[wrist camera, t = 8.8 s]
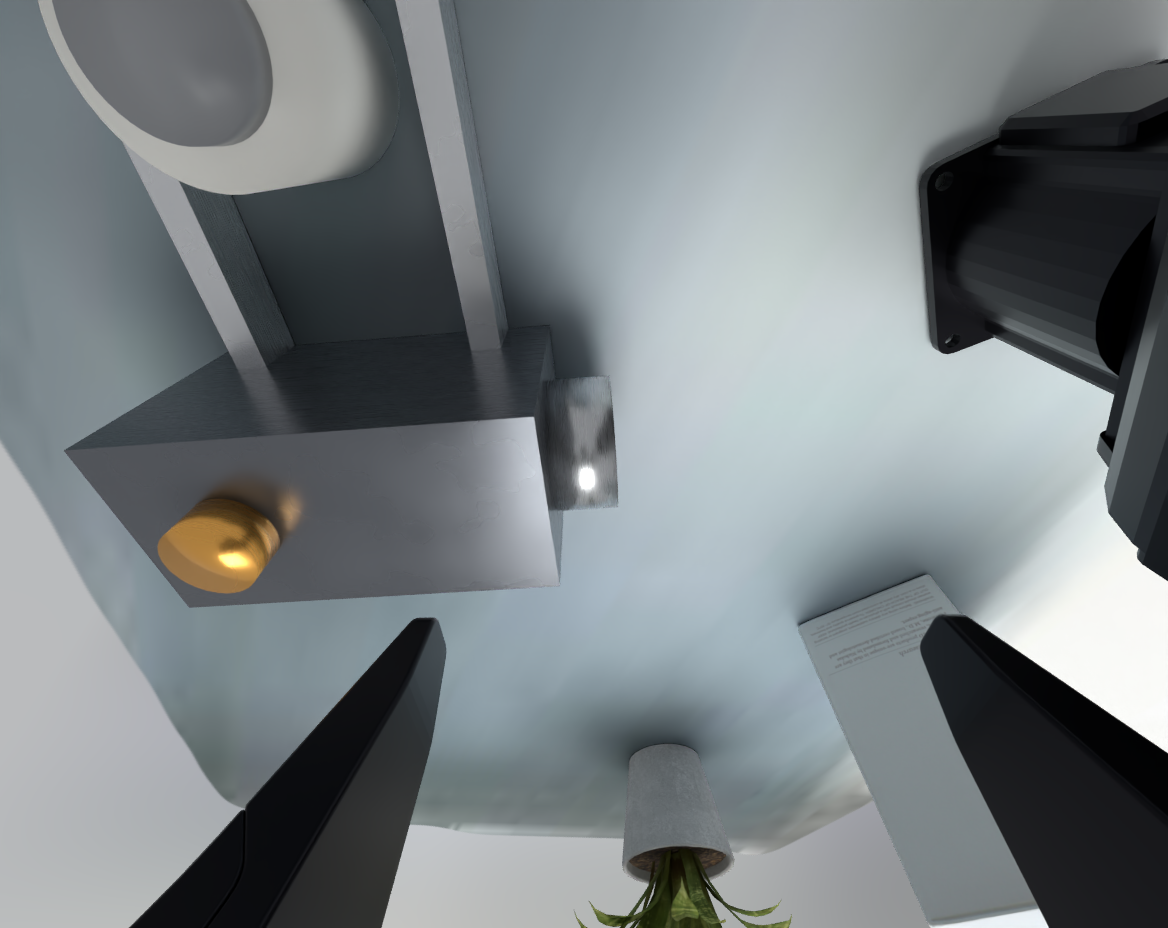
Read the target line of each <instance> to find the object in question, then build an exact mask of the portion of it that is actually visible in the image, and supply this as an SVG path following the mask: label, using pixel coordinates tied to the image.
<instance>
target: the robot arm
mask: <svg viewBox="0 0 1168 928" xmlns="http://www.w3.org/2000/svg"><path fill="white" fill-rule="evenodd" d="M943 172H944V174H945V181H944V182H943V184H942V185H941V186H940V187H939V188H938V189H936V186H935V184H936V180H937V178H938V177H939V175H941V174H942V173H943ZM919 193H920V206H921V218H922V231H923V244H924V257H925V269H926V282H927V295H928V308H929V320H930V333H931V343H932V346H933V347H934V348H935V349H936V350H938V351H940V352H941V353H944V354H951V353H954V352H957V351H960V350H962V349H965V348H967V347H970V346H973V345H975V344H978V343H981V342H983V341H986V340H988V339H991V338H994V337H995V338H997V339H999V340H1001V341H1003V342H1005V343H1007V344H1009V345H1011V346H1014V347H1016V348H1018V349H1020V350H1022V351H1024V352H1026V353H1028V354H1030V355H1032V356H1034V357H1037V358H1039V359H1041V360H1043V361H1045V362H1047V363H1049V364H1051V365H1053V366H1055V367H1057V368H1060V369H1062V370H1064V371H1066V372H1068V373H1070V374H1072V375H1074V376H1076V377H1078V378H1080V379H1083V380H1085V381H1087V382H1089V383H1091V384H1093V385H1095V386H1097V387H1099V388H1101V389H1103V390H1106V391H1108V392H1110V393H1112V394H1114V399H1113V404H1112V408H1111V412H1110V416H1109V421H1108V425H1107V429H1106V430H1105V431H1103V432H1101V434H1100V437H1099V441H1098V445H1097V452H1098V453H1099V455H1100V456H1101V458H1102V459H1103V460H1104V462H1105V463H1106V465H1107V466H1108V467H1109V470H1108V474H1107V478H1106V482H1105V486H1104V487H1105V493H1106V500H1107V506H1108V513H1109V514H1110V516H1111V517H1112V518H1113V519H1114V521H1115V522H1116V523H1117V524H1118V526H1119V527H1120V528H1121V529H1122V531H1123V532H1124V533H1125V534H1126V536H1127V537H1128V538H1129V540H1130V541H1131V542H1132V543H1133V544H1134V545H1135V546H1136V547H1138V548H1139V549H1138V552H1137V559H1138V560H1139V561H1140V562H1141V563H1142V564H1143V565H1144V566H1146V567H1147V568H1149V569H1150V570H1152V571H1153V572H1155V573H1156V574H1158V575H1159V576H1161V577H1162V578H1164V579H1165V580H1167V581H1168V59H1163V60H1156V61H1152V62H1149V63H1147V64H1144V65H1142V66H1140V67H1133V68H1126V69H1118V70H1110V71H1105V72H1103V73H1100V74H1098V75H1096V76H1094V77H1092V78H1090V79H1088V80H1086V81H1083V82H1081V83H1079V84H1077V85H1075V86H1073V87H1071V88H1069V89H1067V90H1065V91H1062V92H1060V93H1058V94H1056V95H1054V96H1052V97H1050V98H1048V99H1046V100H1044V101H1041V102H1039V103H1037V104H1035V105H1033V106H1031V107H1029V108H1027V109H1025V110H1023V111H1020V112H1018V113H1016V114H1014V115H1012V116H1010V117H1009V118H1008V119H1007V120H1006V121H1005V122H1004V123H1003V125H1002V126H1001V127H1000V128H999V133H998V134H996V135H994V136H992V137H990V138H987V139H985V140H983V141H981V142H979V143H977V144H975V145H973V146H970V147H968V148H966V149H964V150H962V151H960V152H958V153H956V154H954V155H951V156H949V157H947V158H945V159H943V160H941V161H939V162H937V163H935V164H933V165H932V166H930V167H929V168H928V169H927V170H926V171H925V173H924V174H923V176H922V178H921V180H920V185H919ZM952 334H953V338H952V339H951V340H950V341H949V342H947V343H945V342H946V340H947V338H948V337H949V336H951V335H952ZM920 652H921V656H922V659H923V662H924V664H925V667H926V669H927V672H928V674H929V677H930V679H931V682H932V685H933V687H934V690H935V692H936V695H937V697H938V700H939V702H940V705H941V708H942V710H943V713H944V715H945V718H946V720H947V723H948V726H949V728H950V730H951V733H952V735H953V737H954V740H955V742H956V744H957V746H958V748H959V750H960V753H961V755H962V757H963V759H964V761H965V763H966V765H967V767H968V769H969V771H970V773H971V775H972V777H973V778H974V780H975V782H976V784H977V786H978V788H979V790H980V792H981V794H982V796H983V798H984V800H985V802H986V804H987V806H988V808H989V810H990V812H991V814H992V816H993V818H994V820H995V822H996V824H997V826H998V828H999V830H1000V832H1001V834H1002V836H1003V838H1004V840H1005V842H1006V844H1007V846H1008V848H1009V850H1010V852H1011V854H1012V856H1013V858H1014V860H1015V862H1016V864H1017V866H1018V868H1019V870H1020V872H1021V874H1022V876H1023V878H1024V880H1025V882H1026V884H1027V886H1028V888H1029V890H1030V891H1031V893H1032V895H1033V897H1034V899H1035V901H1036V903H1037V905H1038V907H1039V909H1040V911H1041V913H1042V915H1043V917H1044V919H1045V921H1046V923H1047V925H1048V927H1049V928H1168V753H1167V752H1165V751H1164V750H1162V749H1161V748H1159V747H1158V746H1157V745H1155V744H1154V743H1152V742H1151V741H1149V740H1148V739H1146V738H1145V737H1143V736H1142V735H1140V734H1139V733H1138V732H1136V731H1135V730H1133V729H1132V728H1130V727H1129V726H1127V725H1126V724H1124V723H1123V722H1121V721H1120V720H1118V719H1117V718H1116V717H1114V716H1113V715H1111V714H1110V713H1108V712H1107V711H1105V710H1104V709H1102V708H1101V707H1099V706H1098V705H1097V704H1095V703H1094V702H1092V701H1091V700H1089V699H1088V698H1086V697H1085V696H1083V695H1082V694H1080V693H1079V692H1077V691H1076V690H1075V689H1073V688H1072V687H1070V686H1069V685H1067V684H1066V683H1064V682H1063V681H1061V680H1060V679H1058V678H1057V677H1055V676H1054V675H1053V674H1051V673H1050V672H1048V671H1047V670H1045V669H1044V668H1042V667H1041V666H1039V665H1038V664H1036V663H1035V662H1034V661H1032V660H1031V659H1029V658H1028V657H1026V656H1025V655H1023V654H1022V653H1020V652H1019V651H1017V650H1016V649H1014V648H1013V647H1012V646H1010V645H1009V644H1007V643H1006V642H1004V641H1003V640H1001V639H1000V638H998V637H997V636H995V635H994V634H993V633H991V632H990V631H988V630H987V629H985V628H984V627H982V626H981V625H979V624H978V623H976V622H975V621H973V620H972V619H970V618H969V617H967V616H965V615H962V614H939V615H937V616H936V617H935V618H934V619H933V621H932V623H931V624H930V626H929V628H928V629H927V631H926V633H925V635H924V636H923V638H922V640H921V642H920ZM445 659H446V644H445V641H444V637H443V634H442V631H441V627H440V624H439V621H438V620H437V619H436V618H416V619H414V620H412V621H411V622H410V623H409V624H408V625H407V626H406V628H405V629H404V630H403V631H402V632H401V633H400V634H399V635H398V636H397V638H396V639H395V640H394V641H393V642H392V643H391V644H390V645H389V646H388V648H387V649H386V650H385V651H384V652H383V653H382V654H381V655H380V656H379V658H378V659H377V660H376V661H375V662H374V663H373V664H372V665H371V666H370V668H369V669H368V670H367V671H366V672H365V673H364V674H363V675H362V676H361V678H360V679H359V680H358V681H357V682H356V683H355V684H354V685H353V686H352V688H351V689H350V690H349V691H348V692H347V693H346V694H345V695H344V696H343V698H342V699H341V700H340V701H339V702H338V703H337V704H336V705H335V706H334V708H333V709H332V710H331V711H330V712H329V713H328V714H327V715H326V716H325V718H324V719H323V720H322V721H321V722H320V723H319V724H318V725H317V726H316V728H315V729H314V730H313V731H312V732H311V733H310V734H309V735H308V737H307V738H306V739H305V740H304V741H303V742H302V743H301V744H300V745H299V747H298V748H297V749H296V750H295V751H294V752H293V753H292V754H291V755H290V757H289V758H288V759H287V760H286V761H285V762H284V763H283V764H282V765H281V767H280V768H279V769H278V770H277V771H276V772H275V773H274V774H273V775H272V777H271V778H270V779H269V780H268V781H267V782H266V783H265V784H264V785H263V787H262V788H261V789H260V790H259V791H258V792H257V793H256V794H255V795H254V797H253V798H252V799H251V800H250V801H249V802H248V803H247V804H246V807H245V810H241V811H240V812H239V813H238V814H237V815H236V816H235V818H234V819H233V820H232V821H231V822H230V823H229V824H228V825H227V826H226V828H225V829H224V830H223V831H222V832H221V833H220V834H219V835H218V836H217V837H216V838H215V840H214V841H213V842H212V843H211V844H210V845H209V846H208V847H207V848H206V849H205V850H204V851H203V852H202V853H201V855H200V856H199V857H198V858H197V859H196V860H195V861H194V862H193V863H192V864H191V865H190V866H189V868H188V869H187V870H186V871H185V872H184V873H183V874H182V875H181V876H180V877H179V878H178V879H177V880H176V881H175V882H174V883H173V884H172V885H171V886H170V887H169V888H168V889H167V890H166V891H165V892H164V893H163V894H162V895H161V896H160V897H159V898H158V899H157V900H156V901H155V902H154V903H153V904H152V905H151V906H150V907H149V909H147V910H146V911H145V912H144V914H143V915H141V916H140V917H139V918H138V919H137V920H136V921H135V923H134V924H132V925H131V926H130V927H129V928H381V927H382V923H383V920H384V916H385V913H386V909H387V905H388V902H389V898H390V894H391V891H392V887H393V883H394V880H395V876H396V872H397V869H398V865H399V861H400V858H401V854H402V851H403V847H404V843H405V839H406V836H407V832H408V829H409V825H410V821H411V818H412V814H413V810H414V807H415V803H416V799H417V796H418V792H419V788H420V785H421V781H422V777H423V774H424V770H425V766H426V763H427V759H428V755H429V751H430V747H431V743H432V738H433V732H434V727H435V721H436V714H437V708H438V702H439V696H440V690H441V684H442V678H443V672H444V666H445Z"/></svg>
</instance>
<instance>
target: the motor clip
mask: <svg viewBox="0 0 1168 928" xmlns="http://www.w3.org/2000/svg"><path fill="white" fill-rule="evenodd" d="M395 1H396V6H397V10H398V15H399V19H400V24H401V29H402V33H403V38H404V43H405V47H406V52H407V56H408V61H409V66H410V70H411V75H412V79H413V84H414V89H415V93H416V98H417V103H418V107H419V112H420V116H421V121H422V126H423V130H424V135H425V140H426V144H427V149H428V153H429V158H430V163H431V167H432V172H433V177H434V181H435V186H436V190H437V195H438V200H439V204H440V209H441V214H442V218H443V223H444V227H445V232H446V237H447V241H448V246H449V251H450V255H451V260H452V264H453V269H454V274H455V278H456V283H457V287H458V292H459V297H460V301H461V306H462V311H463V315H464V320H465V324H466V329H467V332H459V333H446V334H434V335H421V336H408V337H396V338H383V339H371V340H358V341H345V342H333V343H320V344H308V345H295V344H294V341H293V339H292V337H291V334H290V332H289V330H288V327H287V325H286V323H285V320H284V318H283V316H282V313H281V311H280V308H279V306H278V304H277V301H276V299H275V297H274V294H273V292H272V290H271V287H270V285H269V283H268V280H267V278H266V275H265V273H264V271H263V268H262V266H261V264H260V261H259V259H258V257H257V254H256V252H255V250H254V247H253V245H252V242H251V240H250V238H249V235H248V233H247V231H246V228H245V226H244V224H243V221H242V219H241V217H240V214H239V212H238V209H237V207H236V205H235V202H234V200H233V198H232V195H227V194H220V193H213V192H209V191H206V190H202V189H198V188H196V187H193V186H190V185H188V184H185V183H183V182H181V181H179V180H177V179H175V178H173V177H171V176H169V175H167V174H165V173H163V172H162V171H160V170H159V169H157V168H156V167H154V166H153V165H151V164H150V163H148V162H147V161H145V160H144V159H143V158H142V157H140V156H139V155H138V154H136V153H135V152H134V151H133V150H131V149H130V148H129V147H128V146H127V145H126V144H125V143H124V142H123V141H122V142H123V144H124V146H125V148H126V150H127V152H128V154H129V156H130V158H131V160H132V162H133V164H134V166H135V168H136V170H137V172H138V174H139V175H140V177H141V179H142V181H143V183H144V185H145V187H146V189H147V191H148V193H149V195H150V197H151V199H152V201H153V203H154V205H155V207H156V209H157V211H158V213H159V215H160V217H161V219H162V221H163V223H164V225H165V227H166V229H167V231H168V233H169V235H170V237H171V239H172V241H173V243H174V245H175V247H176V248H177V250H178V252H179V254H180V256H181V258H182V260H183V262H184V264H185V266H186V268H187V270H188V272H189V274H190V276H191V278H192V280H193V282H194V284H195V286H196V288H197V290H198V292H199V294H200V296H201V298H202V300H203V302H204V304H205V306H206V308H207V310H208V312H209V314H210V316H211V318H212V320H213V321H214V323H215V325H216V327H217V329H218V331H219V333H220V335H221V337H222V339H223V341H224V343H225V345H226V347H227V349H228V351H229V352H227V353H225V354H224V355H222V356H220V357H219V358H217V359H215V360H214V361H212V362H210V363H209V364H207V365H205V366H204V367H202V368H200V369H199V370H197V371H195V372H194V373H192V374H190V375H189V376H187V377H185V378H184V379H182V380H180V381H179V382H177V383H175V384H174V385H172V386H170V387H169V388H167V389H165V390H164V391H162V392H160V393H159V394H157V395H155V396H154V397H152V398H150V399H149V400H147V401H145V402H144V403H142V404H140V405H139V406H137V407H135V408H134V409H132V410H130V411H129V412H127V413H125V414H124V415H122V416H120V417H119V418H117V419H116V420H114V421H112V422H111V423H109V424H107V425H106V426H104V427H102V428H101V429H99V430H97V431H96V432H94V433H92V434H91V435H89V436H87V437H86V438H84V439H82V440H81V441H79V442H77V443H76V444H74V445H72V446H71V447H69V448H67V449H66V450H64V451H65V453H66V454H67V455H68V456H69V458H70V459H71V460H72V461H73V463H74V464H75V465H76V466H77V468H78V469H79V470H80V471H81V473H82V474H83V475H84V476H85V478H86V479H87V480H88V481H89V483H90V484H91V485H92V486H93V488H94V489H95V490H96V491H97V493H98V494H99V495H100V496H101V498H102V499H103V500H104V501H105V503H106V504H107V505H108V506H109V508H110V509H111V510H112V511H113V513H114V514H115V515H116V516H117V518H118V519H119V520H120V521H121V523H122V524H123V525H124V526H125V528H126V529H127V530H128V531H129V533H130V534H131V535H132V536H133V538H134V539H135V540H136V541H137V543H138V544H139V545H140V547H141V548H142V549H143V550H144V552H145V553H146V554H147V555H148V557H149V558H150V559H151V560H152V562H153V563H154V564H155V565H156V567H157V568H158V569H159V570H160V572H161V573H162V574H163V575H164V577H165V578H166V579H167V580H168V582H169V583H170V584H171V585H172V587H173V588H174V589H175V590H176V592H177V593H178V594H179V595H180V597H181V598H182V599H183V600H184V602H185V603H186V604H187V605H188V607H189V608H191V607H208V606H225V605H243V604H260V603H277V602H294V601H312V600H329V599H346V598H363V597H380V596H398V595H415V594H432V593H449V592H467V591H484V590H501V589H518V588H536V587H553V586H560V570H561V549H562V528H563V511H566V510H581V509H597V508H613V507H618V484H617V465H616V449H615V434H614V420H613V407H612V395H611V385H610V377H609V376H595V377H582V378H569V379H556V377H555V369H554V360H553V352H552V343H551V335H550V327H549V325H547V326H535V327H522V328H509V329H508V323H507V317H506V311H505V305H504V299H503V293H502V287H501V281H500V275H499V269H498V263H497V257H496V251H495V245H494V239H493V233H492V227H491V221H490V215H489V209H488V203H487V197H486V191H485V185H484V179H483V173H482V167H481V161H480V155H479V149H478V143H477V137H476V131H475V125H474V119H473V113H472V107H471V101H470V95H469V89H468V83H467V77H466V71H465V65H464V59H463V54H462V48H461V42H460V36H459V30H458V24H457V18H456V12H455V6H454V0H395Z"/></svg>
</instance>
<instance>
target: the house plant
mask: <svg viewBox="0 0 1168 928" xmlns="http://www.w3.org/2000/svg"><path fill="white" fill-rule="evenodd" d="M733 865H734V857H733V854H732V851H731V848H730V845H729V842H728V839H727V836H726V834H725V831H724V828H723V825H722V822H721V819H720V816H719V813H718V810H717V807H716V805H715V802H714V799H713V796H712V793H711V790H710V787H709V784H708V781H707V779H706V776H705V773H704V770H703V767H702V764H701V761H700V758H699V756H698V754H697V753H696V752H695V751H694V750H693V749H691V748H688V747H686V746H682V745H677V744H658V745H653V746H649V747H646V748H643V749H641V750H639V751H638V752H636V753H635V754H634V755H633V756H632V757H631V759H630V761H629V774H628V788H627V803H626V817H625V832H624V847H623V861H622V866H623V871H624V872H625V873H626V874H627V875H628V876H629V877H631V878H633V879H635V880H637V881H640V882H644V883H648V884H649V886H648V887H647V889H646V891H645V892H644V894H643V895H642V897H641V898H640V900H639V901H638V903H637V904H636V906H635V907H634V908H633V910H632V911H631V912H630V913H629V915H628V916H615V915H606V914H604V913H602V912H600V911H599V910H597V909H595V908H594V907H593V905H592V904H591V903H590V904H591V906H592V908H593V910H594V912H595V914H596V916H597V918H598V920H599V922H601V923H603V924H605V925H608V926H612V927H617V926H621V927H620V928H625V927H626V925H627V924H628V923H631V922H633V921H635V920H636V921H635V922H634V923H633V925H632V926H631V927H630V928H634V927H635V926H636V924H637V923H638V922H639V923H638V925H637V927H636V928H722V926H721V923H724V922H726V920H722V921H720V920H719V919H718V917H717V914H716V912H715V910H714V907H713V905H712V902H711V899H710V897H709V894H708V891H707V889H708V890H709V891H710V892H711V894H712V895H713V896H714V897H715V898H716V899H717V900H719V901H720V902H721V903H722V904H723V905H724V906H725V907H726V908H727V909H728V910H729V911H730V912H731V913H732V914H733V915H734V916H735V917H736V918H737V919H738V920H739V921H740V922H741V923H743V924H744V925H745V926H746V927H747V928H789V925H790V923H791V918H790V920H789V921H784V922H780V923H775V924H770V925H755V924H751V923H748V922H745V921H743V920H741V919H740V918H739V917H738V916H737V915H736V914H734V913H733V912H732V911H731V910H733V911H736V912H739V913H741V914H745V915H748V916H756V917H757V916H763V915H766V914H769V913H771V912H772V911H773V910H774V909H775V908H776V907H777V906H778V905H779V904H778V905H776V906H774V907H771V908H768V909H764V910H761V911H745V910H742V909H738V908H735V907H733V906H730V905H728V904H727V903H725V902H724V901H723V899H722V898H721V896H720V895H719V893H718V892H717V891H716V889H715V888H714V886H713V885H712V883H711V882H710V880H713V879H716V878H718V877H721V876H723V875H724V874H726V873H727V872H729V871H730V870H731V869H732V867H733ZM706 881H708V883H709V885H710V886H711V887H710V886H709V885H708V883H707V882H706ZM654 884H655V889H654V894H653V896H652V898H651V901H650V903H649V905H648V907H647V904H648V901H649V898H650V895H651V893H652V890H653V887H654ZM706 887H707V888H706ZM711 888H712V889H713V890H714V891H713V890H712V889H711ZM715 893H716V894H715ZM645 897H646V899H645V902H644V906H643V910H642V912H640V913H638V914H636V915H634V913H635V912H636V910H637V908H638V907H639V905H640V904H641V902H642V901H643V899H644V898H645ZM646 907H647V908H646ZM729 908H730V909H731V910H730V909H729ZM791 917H792V916H791ZM576 918H577V917H576ZM577 920H578V922H579V924H580V926H581V928H587V927H585V926H584V925H583V924H582V923H581V922H580V920H579V919H578V918H577Z"/></svg>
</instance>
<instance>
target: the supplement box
mask: <svg viewBox="0 0 1168 928" xmlns="http://www.w3.org/2000/svg"><path fill="white" fill-rule="evenodd" d="M939 614H960V613H959V612H958V610H957V609H956V608H955V606H954V605H953V604H952V603H951V602H950V600H949V599H948V598H947V597H946V595H945V594H944V593H943V591H942V590H941V589H940V588H939V586H938V585H937V584H936V582H935V581H934V580H933V578H932V577H931V576H930V575H924V576H921V577H918V578H915V579H913V580H911V581H908V582H905V583H903V584H900V585H897V586H895V587H892V588H890V589H888V590H885V591H882V592H880V593H877V594H874V595H872V596H870V597H867V598H865V599H862V600H860V601H857V602H854V603H852V604H849V605H847V606H844V607H842V608H840V609H837V610H835V611H832V612H830V613H827V614H825V615H822V616H820V617H817V618H814V619H812V620H810V621H808V622H806V623H803V624H801V625H800V626H799V627H798V631H799V633H800V636H801V638H802V640H803V643H804V645H805V647H806V649H807V652H808V654H809V656H810V659H811V661H812V663H813V665H814V668H815V670H816V672H817V674H818V677H819V679H820V681H821V683H822V686H823V688H824V690H825V692H826V695H827V697H828V699H829V701H830V704H831V706H832V708H833V710H834V713H835V715H836V717H837V720H838V722H839V724H840V726H841V729H842V731H843V733H844V735H845V737H846V740H847V742H848V744H849V746H850V749H851V751H852V753H853V755H854V757H855V760H856V762H857V764H858V766H859V769H860V771H861V773H862V775H863V777H864V780H865V782H866V784H867V786H868V789H869V791H870V793H871V795H872V798H873V800H874V802H875V804H876V807H877V809H878V811H879V814H880V816H881V818H882V820H883V823H884V825H885V827H886V829H887V832H888V834H889V836H890V838H891V840H892V843H893V845H894V847H895V850H896V852H897V854H898V856H899V858H900V861H901V863H902V865H903V867H904V870H905V872H906V875H907V877H908V879H909V881H910V884H911V886H912V888H913V890H914V893H915V895H916V897H917V899H918V901H919V903H920V906H921V909H922V911H923V913H924V916H925V918H926V921H927V923H928V925H929V926H930V927H931V928H1049V927H1048V925H1047V923H1046V921H1045V919H1044V917H1043V915H1042V913H1041V911H1040V909H1039V907H1038V905H1037V903H1036V901H1035V899H1034V897H1033V895H1032V893H1031V891H1030V890H1029V888H1028V886H1027V884H1026V882H1025V880H1024V878H1023V876H1022V874H1021V872H1020V870H1019V868H1018V866H1017V864H1016V862H1015V860H1014V858H1013V856H1012V854H1011V852H1010V850H1009V848H1008V846H1007V844H1006V842H1005V840H1004V838H1003V836H1002V834H1001V832H1000V830H999V828H998V826H997V824H996V822H995V820H994V818H993V816H992V814H991V812H990V810H989V808H988V806H987V804H986V802H985V800H984V798H983V796H982V794H981V792H980V790H979V788H978V786H977V784H976V782H975V780H974V778H973V777H972V775H971V773H970V771H969V769H968V767H967V765H966V763H965V761H964V759H963V757H962V755H961V753H960V750H959V748H958V746H957V744H956V742H955V740H954V737H953V735H952V733H951V730H950V728H949V726H948V723H947V720H946V718H945V715H944V713H943V710H942V708H941V705H940V702H939V700H938V697H937V695H936V692H935V690H934V687H933V685H932V682H931V679H930V677H929V674H928V672H927V669H926V667H925V664H924V662H923V659H922V656H921V652H920V642H921V640H922V638H923V636H924V635H925V633H926V631H927V629H928V628H929V626H930V624H931V623H932V621H933V619H934V618H935V617H936V616H937V615H939Z"/></svg>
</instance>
